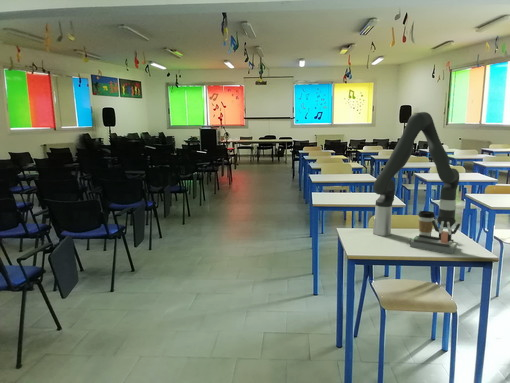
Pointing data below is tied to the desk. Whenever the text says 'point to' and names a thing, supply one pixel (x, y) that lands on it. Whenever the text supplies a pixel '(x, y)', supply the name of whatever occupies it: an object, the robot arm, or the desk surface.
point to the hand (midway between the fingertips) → (444, 240)
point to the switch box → (432, 244)
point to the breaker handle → (444, 238)
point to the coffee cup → (425, 222)
